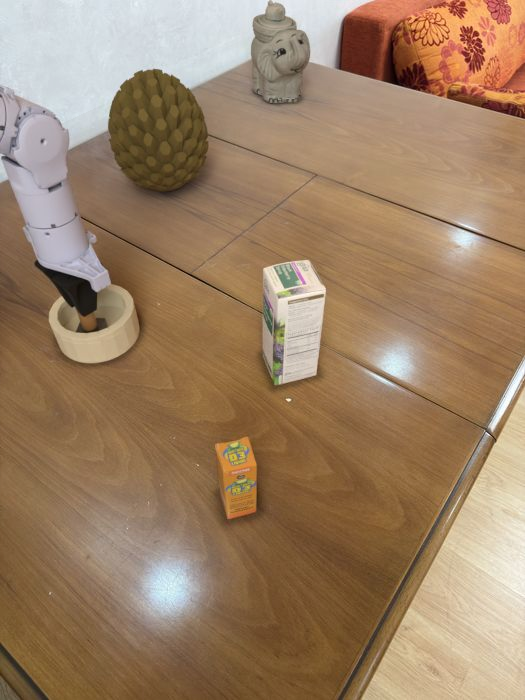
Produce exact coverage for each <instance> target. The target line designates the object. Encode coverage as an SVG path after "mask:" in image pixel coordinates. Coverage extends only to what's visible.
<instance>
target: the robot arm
mask: <svg viewBox="0 0 525 700" xmlns="http://www.w3.org/2000/svg"><path fill="white" fill-rule="evenodd" d="M56 116H57V115H56V114H55V113H54V112H53V111H51V110H50V109H48V108H46V107H43V106H41V105H39V104H37V103H35V102H33V101H31V100H28V99H26V98H24V97H21V96H19V95H17V94H15V90H14V89H12V88H10V87H8V86H5V85H2V84H0V155H2V156H0V161H1V162H2V165H3V168H4V170H5V173H6V176H7V178H8V180H9V184H10V186H11V188H12V191H13V195H14V197H15V200H16V203H17V204H18V207H19V209H20V212H21V215H22V218H23V220H24V224H25V225H24V226H22V231H23V233H24V235H25V238H26V240H27V242H29V243H30V244H31V247H32V249H33V252H34V254H35V257H36V260H35V261H34V264H33V265H34V267H35V268H37V270H39V271H40V272H42V274H44V275H45V277H47V278H48V279H49V281H51V283H52V284H53V285H54V287H55V288H56V290H57V291H58V293H59V294H60V295H61V296H62V297H63V298H64V300H65V301H66V302H67V304H68V305H69V306H70V307H72V308H73V307H75V308H76V309H77V311H78V312H79V313H80V314H81V315H82V316H83V317H86V316H87V315H89V314H91V313H92V312H94V311H96V310H97V292H98V291H100V290H102V289H104V288H106V287H107V286H109V285H110V284H112V281H111V276H110V274H109V270H108V269H107V268H105V267H104V264H103V263H102V262H101V261H100V259H99V257H98V255H97V253H96V251H95V249H94V247H93V245H94V244H95V243H97V241H98V238H97V236H96V234H95V233H93V232H92V231H89V230H85V227H84V223H83V220H82V216H81V213H80V210H79V206H78V203H77V200H76V196H75V193H74V190H73V185H72V181H71V179H70V176H69V169H68V165H67V161H66V159H67V154H68V151H69V147H70V132H69V129H68V128H65V127H63V124H62V122H61V120H60V118H58V117H56Z"/></svg>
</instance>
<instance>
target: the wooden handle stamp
mask: <svg viewBox="0 0 525 700" xmlns="http://www.w3.org/2000/svg"><path fill="white" fill-rule="evenodd" d="M76 311H77V309H76ZM77 314H78V317H79V320H80V323H79V325H78V328H77V330H76V333H91V332H97V331H100V330H103V329H105V328H107V327H108V326H107V323H106V320H105V318H96V317H95V314H94V312H92V313H91V314H89V315H87V316H86V317H83V316H82V315H81V314H80V313H79V312H78V311H77Z"/></svg>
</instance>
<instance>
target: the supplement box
mask: <svg viewBox="0 0 525 700" xmlns="http://www.w3.org/2000/svg"><path fill="white" fill-rule="evenodd" d="M214 449H215V456H216V465H217V474H218V475H217V476H218V484H219V496H220V498H221V503H222V505H223V509H224V512H225V516H226V518H227V520H231V519H236V518H239V517H242V516H246V515H247V516H248V515H250V514H253V513H257V502H258V501H257V500H258V499H257V498H258V497H257V496H258V495H257V494H258V487H257V486H258V481H257V480H258V466H257V465H258V464H257V461H256V458H255V454H254V450H253V447H252V443H251V439H250V438H249V437H248V436H244V437H241V438H240V439H235V440H232V441H227V442H218V443H215V444H214Z"/></svg>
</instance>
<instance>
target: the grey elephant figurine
mask: <svg viewBox="0 0 525 700" xmlns="http://www.w3.org/2000/svg"><path fill="white" fill-rule="evenodd" d="M297 28H298V27H297V22H296V20H294V19H293V18H292V17H290V16H286V8H285V6H284V5H283V4H282V3H279V2H277V1H274V2H273V0H268V2H267V6H266V8H265V13H262V14H258V15H256V16H254V17H253V19H252V31H253V35H254V37H253V39H252V41H251V45H250V56H251V61H252V69H251V77H252V80H253V81H252V91H253V92H254V93H255V94H257V95H259V96H262V99H263V100H264V101H266V102H267V103H270V104H282V103H297V102H298V101H299V100H300V99H301V87H302V85H303V71H304V70H305V69H306V68H307V67H308V64H309V62H310V59H311V46H310V40H309V36H308V35H307V32H305V31H304V30H302V29H297ZM260 92H261V93H260ZM298 95H300V96H299V97H298ZM296 97H297V98H296ZM283 98H295V99H283ZM268 99H269V100H268ZM278 99H281V100H278Z"/></svg>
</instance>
